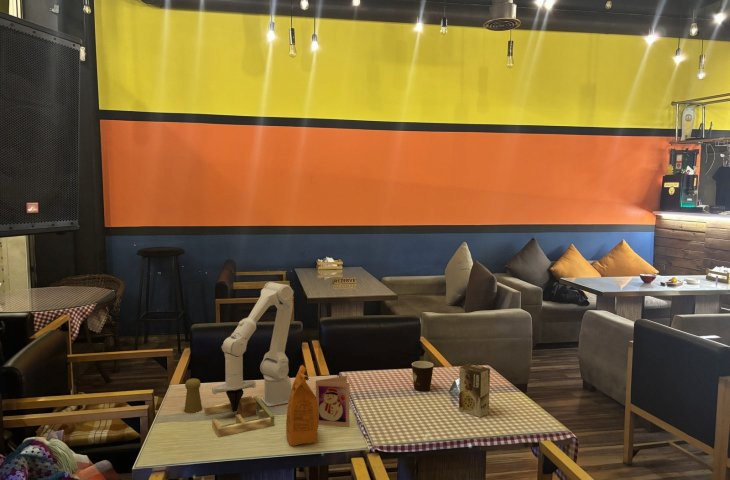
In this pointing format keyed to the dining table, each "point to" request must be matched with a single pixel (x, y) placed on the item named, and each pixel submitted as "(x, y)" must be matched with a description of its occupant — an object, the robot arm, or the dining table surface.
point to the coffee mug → (422, 375)
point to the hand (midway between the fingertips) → (234, 410)
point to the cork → (193, 396)
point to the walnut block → (247, 407)
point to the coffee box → (474, 389)
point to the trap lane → (240, 419)
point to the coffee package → (301, 412)
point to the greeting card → (333, 401)
